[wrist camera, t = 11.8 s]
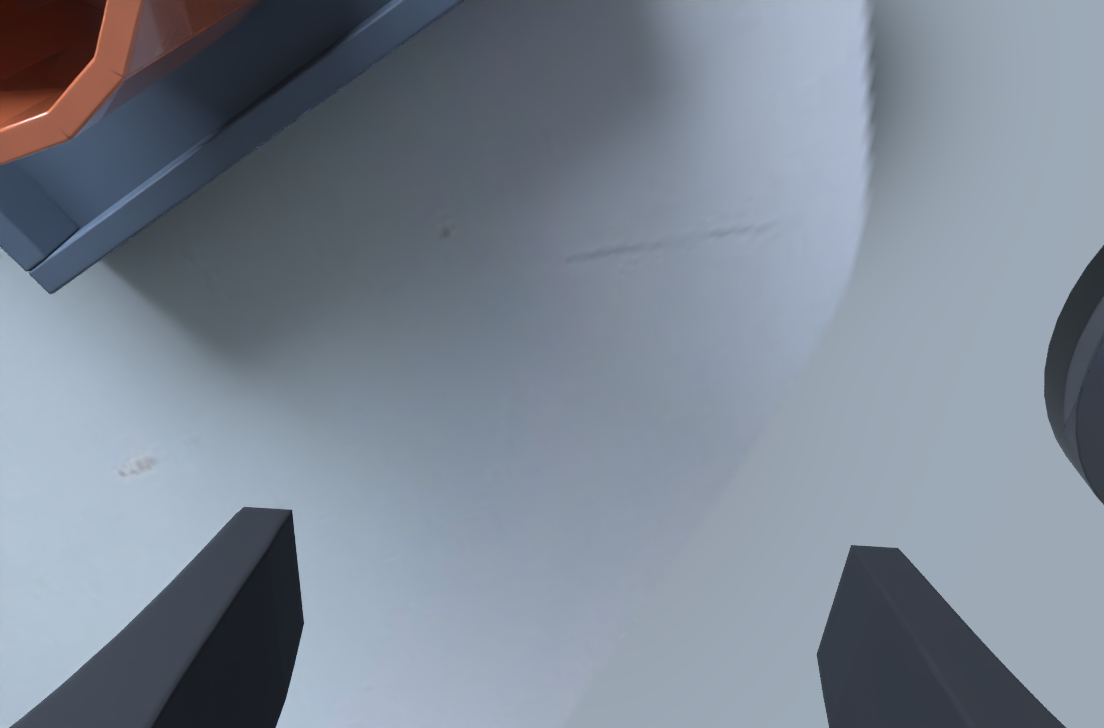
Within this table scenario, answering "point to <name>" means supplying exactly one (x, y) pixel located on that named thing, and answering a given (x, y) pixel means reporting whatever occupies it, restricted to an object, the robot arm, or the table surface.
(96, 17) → the cup
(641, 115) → the table surface
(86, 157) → the tray
